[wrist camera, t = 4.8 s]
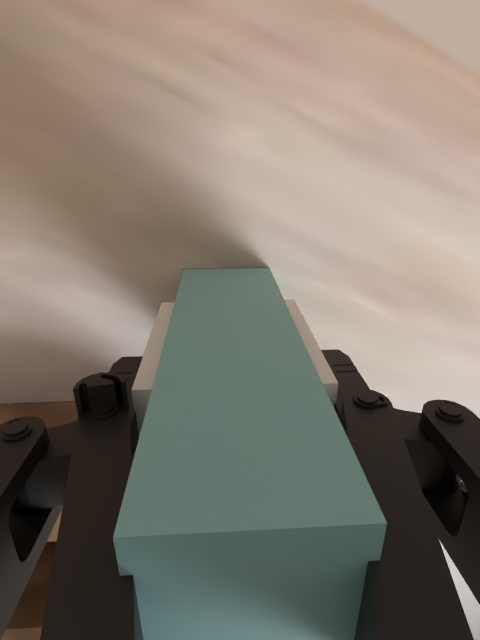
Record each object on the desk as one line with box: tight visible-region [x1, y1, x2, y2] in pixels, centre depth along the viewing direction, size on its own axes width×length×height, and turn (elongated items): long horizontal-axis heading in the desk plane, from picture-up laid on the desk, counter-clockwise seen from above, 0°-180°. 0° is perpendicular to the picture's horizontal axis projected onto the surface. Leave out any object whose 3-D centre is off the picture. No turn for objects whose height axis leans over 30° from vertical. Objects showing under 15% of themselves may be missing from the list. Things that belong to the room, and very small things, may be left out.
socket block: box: [0, 402, 78, 640], centre depth 21 cm, size 14×14×5 cm
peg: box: [113, 268, 387, 640], centre depth 13 cm, size 4×4×14 cm
